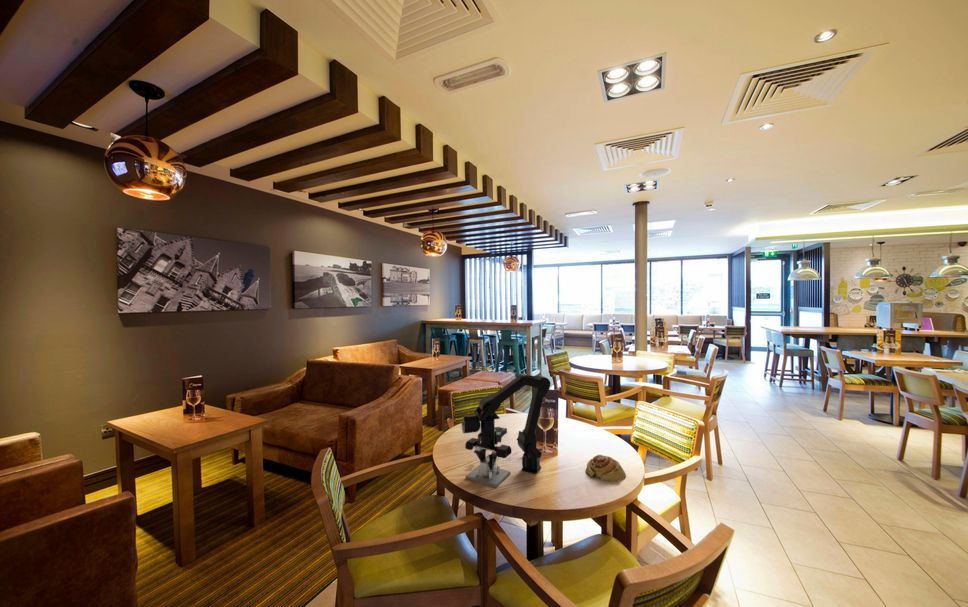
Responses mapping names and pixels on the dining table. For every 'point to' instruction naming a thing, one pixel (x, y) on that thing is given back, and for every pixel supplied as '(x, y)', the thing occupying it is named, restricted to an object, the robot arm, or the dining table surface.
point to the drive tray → (489, 476)
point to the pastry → (605, 468)
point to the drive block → (486, 466)
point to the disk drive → (498, 431)
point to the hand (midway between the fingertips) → (488, 468)
